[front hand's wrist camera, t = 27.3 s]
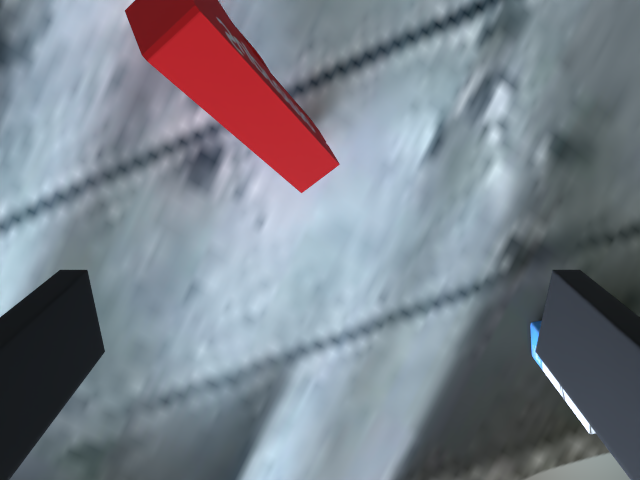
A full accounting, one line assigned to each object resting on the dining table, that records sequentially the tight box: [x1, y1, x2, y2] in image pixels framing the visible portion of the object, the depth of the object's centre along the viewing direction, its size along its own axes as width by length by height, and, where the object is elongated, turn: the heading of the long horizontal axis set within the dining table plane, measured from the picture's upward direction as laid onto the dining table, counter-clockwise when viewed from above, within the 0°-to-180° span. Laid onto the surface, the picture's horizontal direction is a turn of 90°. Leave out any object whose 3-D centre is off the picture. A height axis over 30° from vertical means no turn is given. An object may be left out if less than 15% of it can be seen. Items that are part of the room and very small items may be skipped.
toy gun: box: [125, 0, 339, 193], centre depth 36 cm, size 18×4×15 cm
